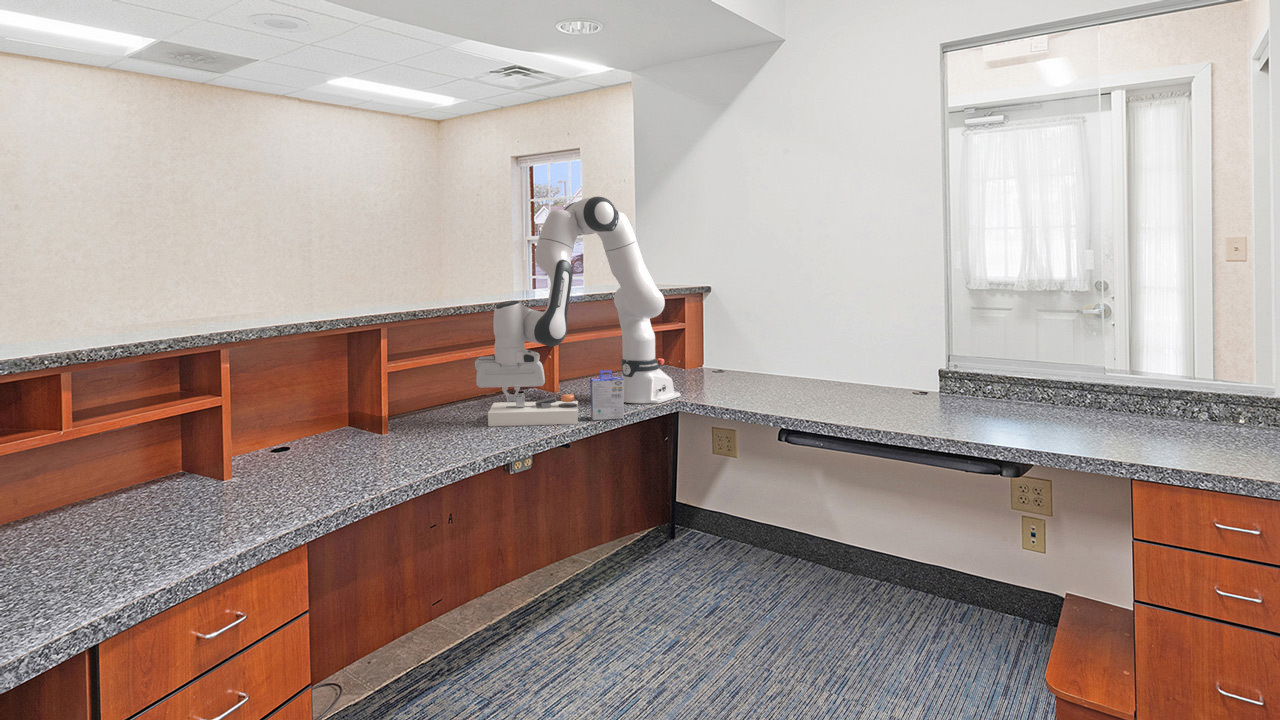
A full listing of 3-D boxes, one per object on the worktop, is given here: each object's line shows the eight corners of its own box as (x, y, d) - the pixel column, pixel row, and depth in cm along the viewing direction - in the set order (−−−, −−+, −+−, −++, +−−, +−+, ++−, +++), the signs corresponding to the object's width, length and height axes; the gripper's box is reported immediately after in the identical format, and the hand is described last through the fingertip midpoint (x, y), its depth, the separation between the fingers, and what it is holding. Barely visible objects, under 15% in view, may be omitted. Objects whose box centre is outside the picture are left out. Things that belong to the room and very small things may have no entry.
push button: (574, 399, 220) (574, 394, 220) (574, 401, 216) (574, 396, 216) (561, 399, 220) (561, 394, 220) (560, 402, 216) (560, 397, 216)
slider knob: (525, 404, 219) (524, 393, 219) (524, 406, 216) (523, 395, 215) (517, 404, 219) (516, 393, 219) (516, 407, 215) (515, 395, 215)
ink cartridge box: (621, 414, 224) (621, 368, 221) (625, 419, 218) (624, 372, 216) (589, 416, 222) (589, 370, 219) (592, 420, 216) (591, 373, 214)
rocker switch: (556, 399, 220) (555, 396, 220) (555, 402, 216) (555, 398, 216) (537, 404, 219) (536, 400, 219) (536, 406, 216) (535, 403, 216)
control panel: (578, 413, 226) (577, 396, 225) (577, 424, 212) (577, 405, 212) (494, 415, 224) (493, 397, 223) (488, 426, 211) (487, 407, 210)
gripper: (472, 358, 211) (475, 404, 213) (543, 356, 212) (544, 402, 215) (476, 354, 217) (478, 399, 219) (544, 353, 219) (545, 398, 221)
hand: (511, 401), depth 217 cm, fingers closed
